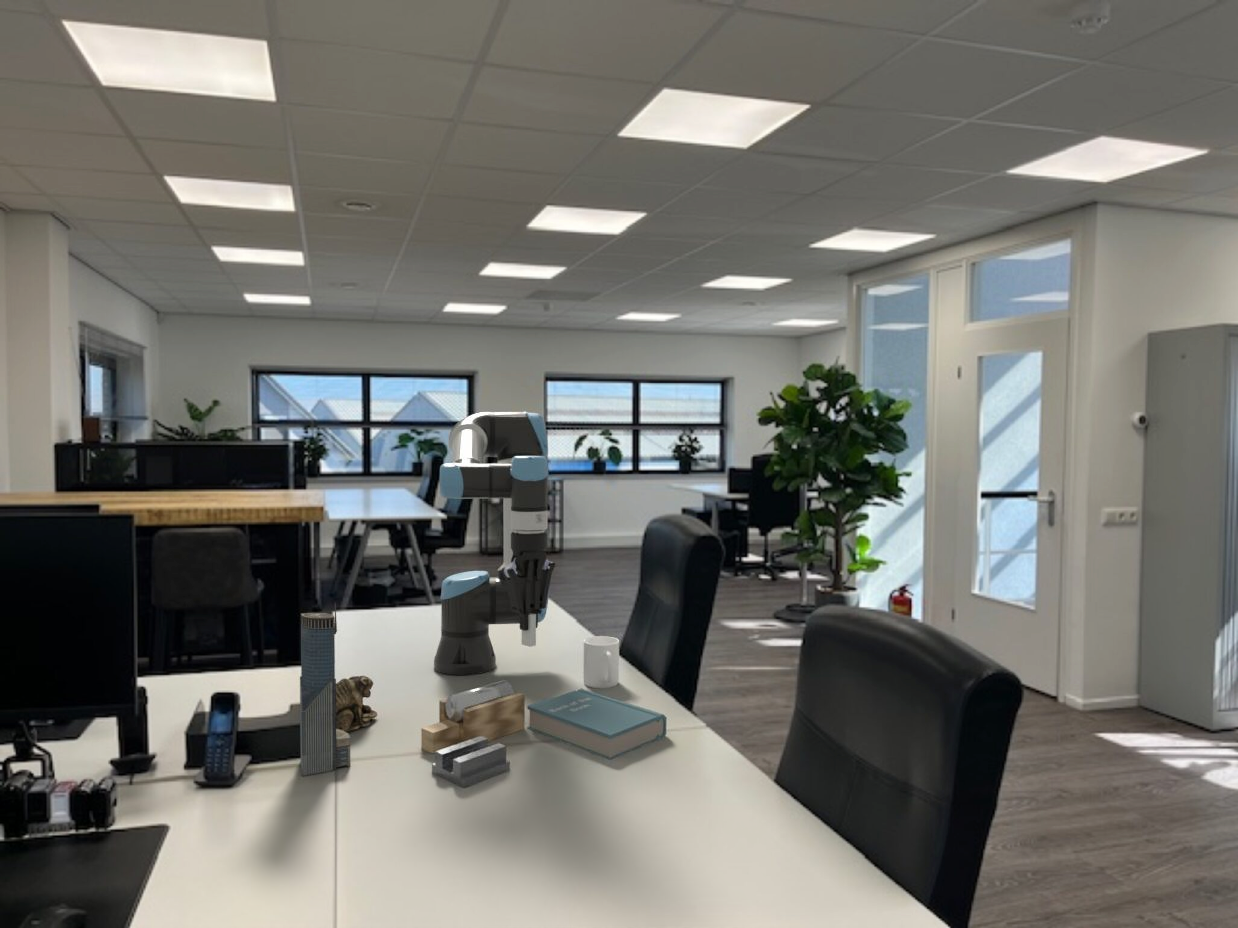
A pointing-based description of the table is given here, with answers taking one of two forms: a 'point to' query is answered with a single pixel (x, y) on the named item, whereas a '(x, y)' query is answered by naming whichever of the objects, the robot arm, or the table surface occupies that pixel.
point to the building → (320, 698)
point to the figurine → (353, 703)
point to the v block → (470, 761)
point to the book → (596, 723)
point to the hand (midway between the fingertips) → (528, 644)
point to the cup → (601, 662)
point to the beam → (476, 723)
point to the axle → (476, 698)
